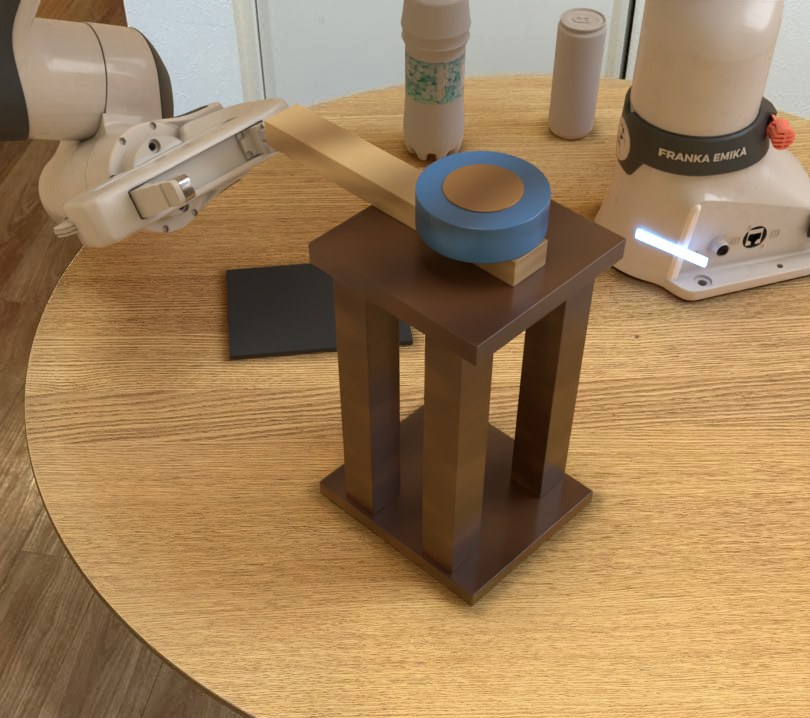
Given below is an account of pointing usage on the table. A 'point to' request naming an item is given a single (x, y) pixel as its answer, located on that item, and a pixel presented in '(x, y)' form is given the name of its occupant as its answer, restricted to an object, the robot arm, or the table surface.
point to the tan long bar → (433, 193)
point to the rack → (459, 393)
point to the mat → (284, 312)
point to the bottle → (434, 75)
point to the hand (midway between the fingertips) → (234, 162)
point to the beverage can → (576, 72)
